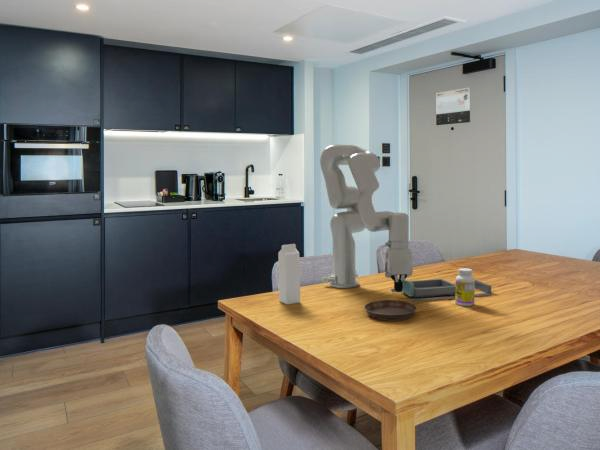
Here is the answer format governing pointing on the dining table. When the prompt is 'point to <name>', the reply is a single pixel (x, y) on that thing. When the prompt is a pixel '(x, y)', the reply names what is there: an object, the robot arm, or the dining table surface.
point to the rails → (478, 285)
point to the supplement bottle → (465, 287)
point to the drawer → (428, 288)
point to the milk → (289, 274)
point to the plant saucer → (390, 310)
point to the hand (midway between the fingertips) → (398, 291)
